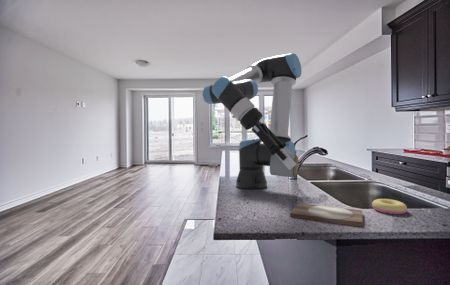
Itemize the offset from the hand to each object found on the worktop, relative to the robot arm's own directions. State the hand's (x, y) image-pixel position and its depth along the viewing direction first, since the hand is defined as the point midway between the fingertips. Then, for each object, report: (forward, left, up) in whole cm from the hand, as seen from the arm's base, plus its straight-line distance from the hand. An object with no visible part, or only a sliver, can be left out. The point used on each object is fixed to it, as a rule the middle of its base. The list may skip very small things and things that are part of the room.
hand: (294, 165), depth 82 cm
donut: (-17, +27, -16) cm, 36 cm away
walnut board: (-3, +9, -16) cm, 19 cm away
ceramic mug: (-1, -4, -4) cm, 5 cm away
